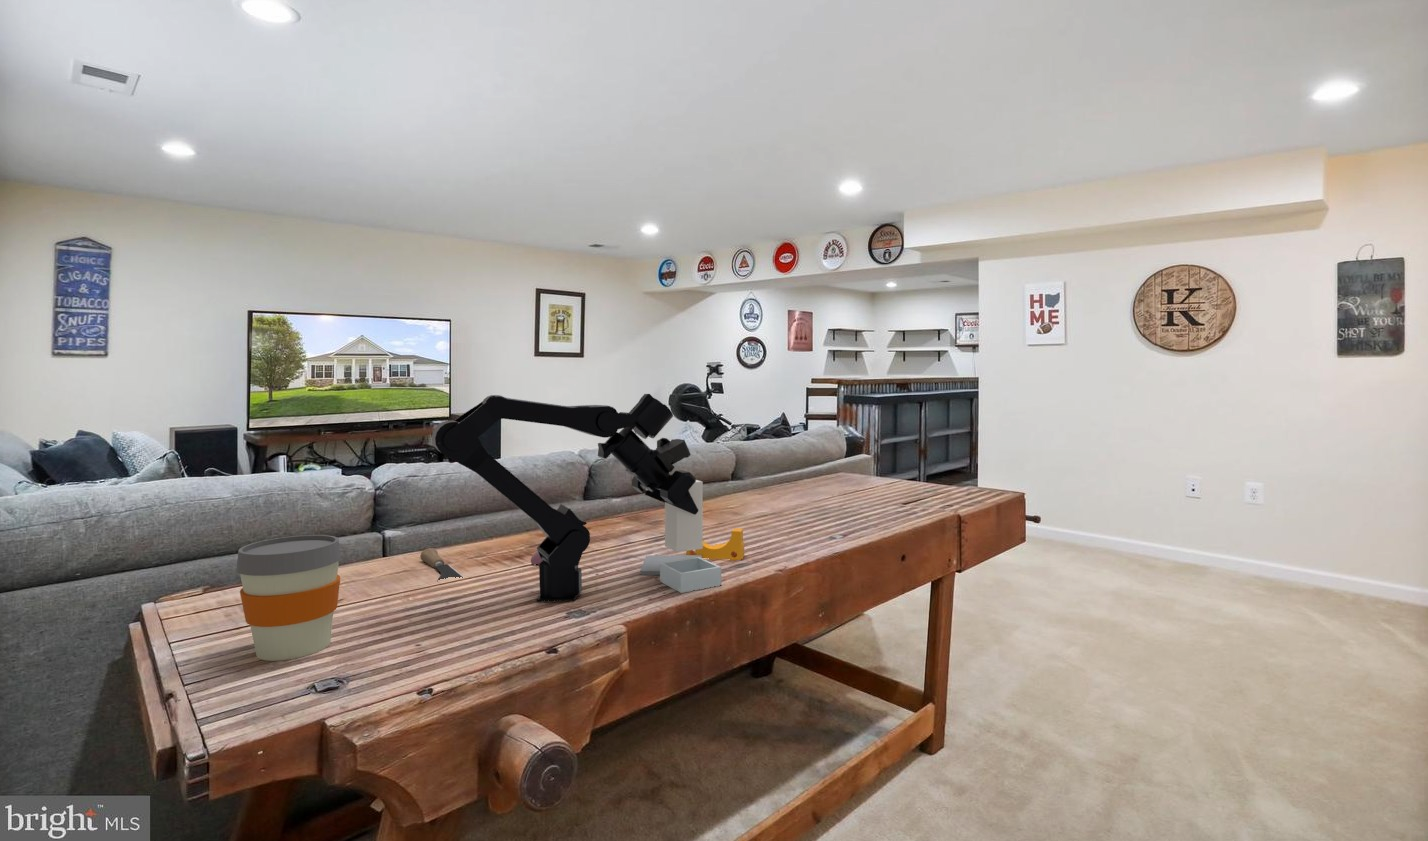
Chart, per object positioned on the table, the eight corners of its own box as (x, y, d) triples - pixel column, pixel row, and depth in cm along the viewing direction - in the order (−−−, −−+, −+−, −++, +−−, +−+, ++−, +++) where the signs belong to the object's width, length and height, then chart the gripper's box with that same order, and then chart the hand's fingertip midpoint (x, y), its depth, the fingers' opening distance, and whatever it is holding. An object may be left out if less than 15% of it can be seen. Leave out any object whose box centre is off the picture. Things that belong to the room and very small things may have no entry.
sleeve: (680, 593, 118) (680, 573, 118) (660, 581, 125) (659, 563, 125) (721, 585, 122) (721, 566, 122) (698, 574, 129) (698, 557, 129)
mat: (640, 575, 129) (640, 571, 129) (646, 559, 141) (646, 555, 141) (701, 574, 130) (701, 570, 130) (701, 558, 142) (701, 555, 141)
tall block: (676, 552, 124) (676, 483, 123) (664, 546, 129) (664, 480, 128) (702, 548, 126) (702, 481, 126) (690, 542, 131) (690, 478, 131)
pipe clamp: (744, 556, 144) (744, 527, 144) (740, 561, 140) (740, 531, 139) (691, 553, 147) (691, 525, 146) (686, 558, 142) (686, 529, 142)
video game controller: (547, 573, 137) (562, 543, 137) (527, 563, 137) (542, 533, 137) (558, 560, 147) (572, 533, 147) (540, 551, 147) (553, 524, 147)
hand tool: (448, 584, 121) (409, 551, 140) (449, 600, 121) (410, 565, 140) (478, 577, 124) (437, 546, 143) (479, 592, 125) (437, 559, 144)
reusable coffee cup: (358, 646, 94) (354, 542, 94) (254, 674, 85) (249, 560, 84) (327, 625, 103) (323, 530, 102) (229, 649, 94) (225, 545, 93)
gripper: (685, 427, 116) (739, 485, 122) (645, 423, 133) (694, 474, 139) (644, 474, 113) (701, 531, 119) (608, 464, 129) (660, 514, 135)
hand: (689, 510), depth 128 cm, fingers closed on tall block, 5 cm apart
